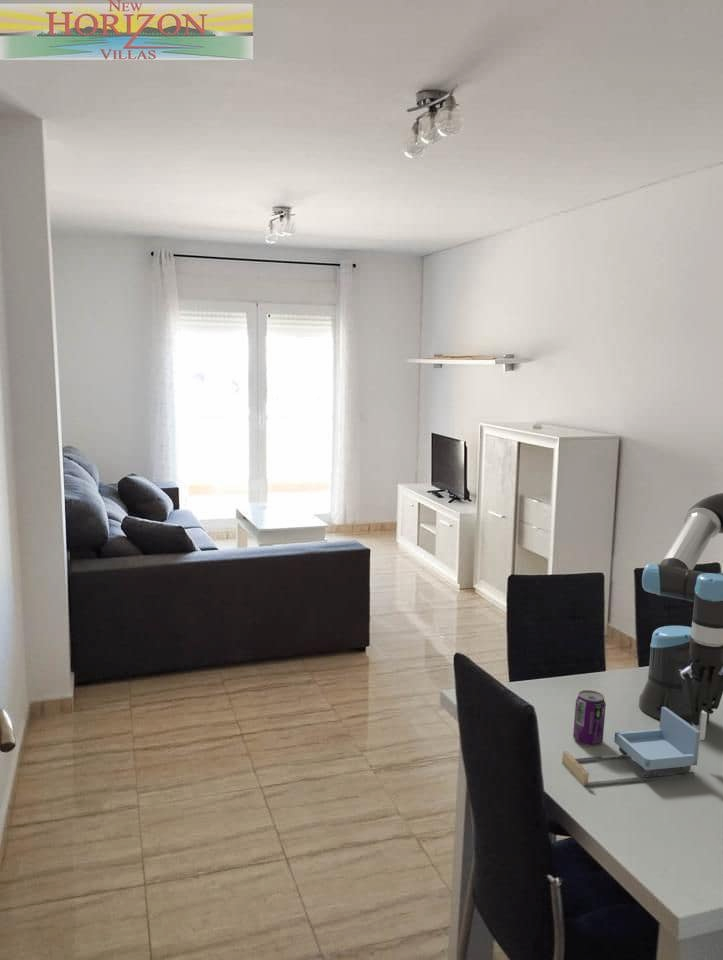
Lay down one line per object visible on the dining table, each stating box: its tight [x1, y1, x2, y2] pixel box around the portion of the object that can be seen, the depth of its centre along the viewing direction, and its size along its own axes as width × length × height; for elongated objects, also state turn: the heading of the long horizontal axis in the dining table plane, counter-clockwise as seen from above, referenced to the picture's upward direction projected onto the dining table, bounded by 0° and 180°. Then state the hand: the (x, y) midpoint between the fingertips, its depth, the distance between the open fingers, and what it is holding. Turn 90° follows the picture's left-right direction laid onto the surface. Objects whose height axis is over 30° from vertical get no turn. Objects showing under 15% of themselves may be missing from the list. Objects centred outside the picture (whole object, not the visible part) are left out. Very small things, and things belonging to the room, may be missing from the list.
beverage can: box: [572, 689, 607, 747], centre depth 187 cm, size 7×7×12 cm
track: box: [561, 750, 695, 788], centre depth 175 cm, size 28×11×3 cm, turn 103°
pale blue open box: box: [613, 707, 701, 777], centre depth 176 cm, size 13×13×10 cm
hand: (698, 736), depth 178 cm, fingers closed
